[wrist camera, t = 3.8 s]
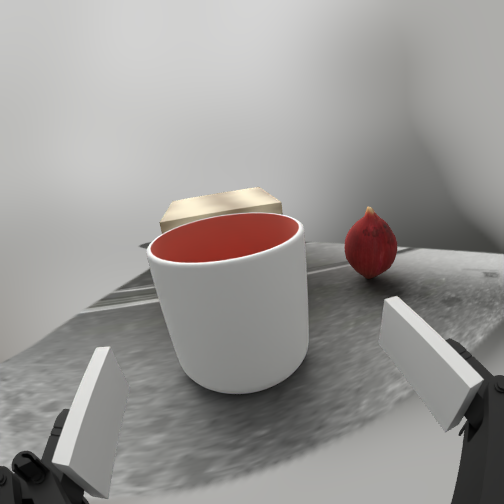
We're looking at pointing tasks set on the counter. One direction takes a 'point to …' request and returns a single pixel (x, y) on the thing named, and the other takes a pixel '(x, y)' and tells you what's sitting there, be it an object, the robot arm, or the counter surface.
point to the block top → (219, 206)
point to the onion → (370, 245)
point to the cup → (234, 298)
